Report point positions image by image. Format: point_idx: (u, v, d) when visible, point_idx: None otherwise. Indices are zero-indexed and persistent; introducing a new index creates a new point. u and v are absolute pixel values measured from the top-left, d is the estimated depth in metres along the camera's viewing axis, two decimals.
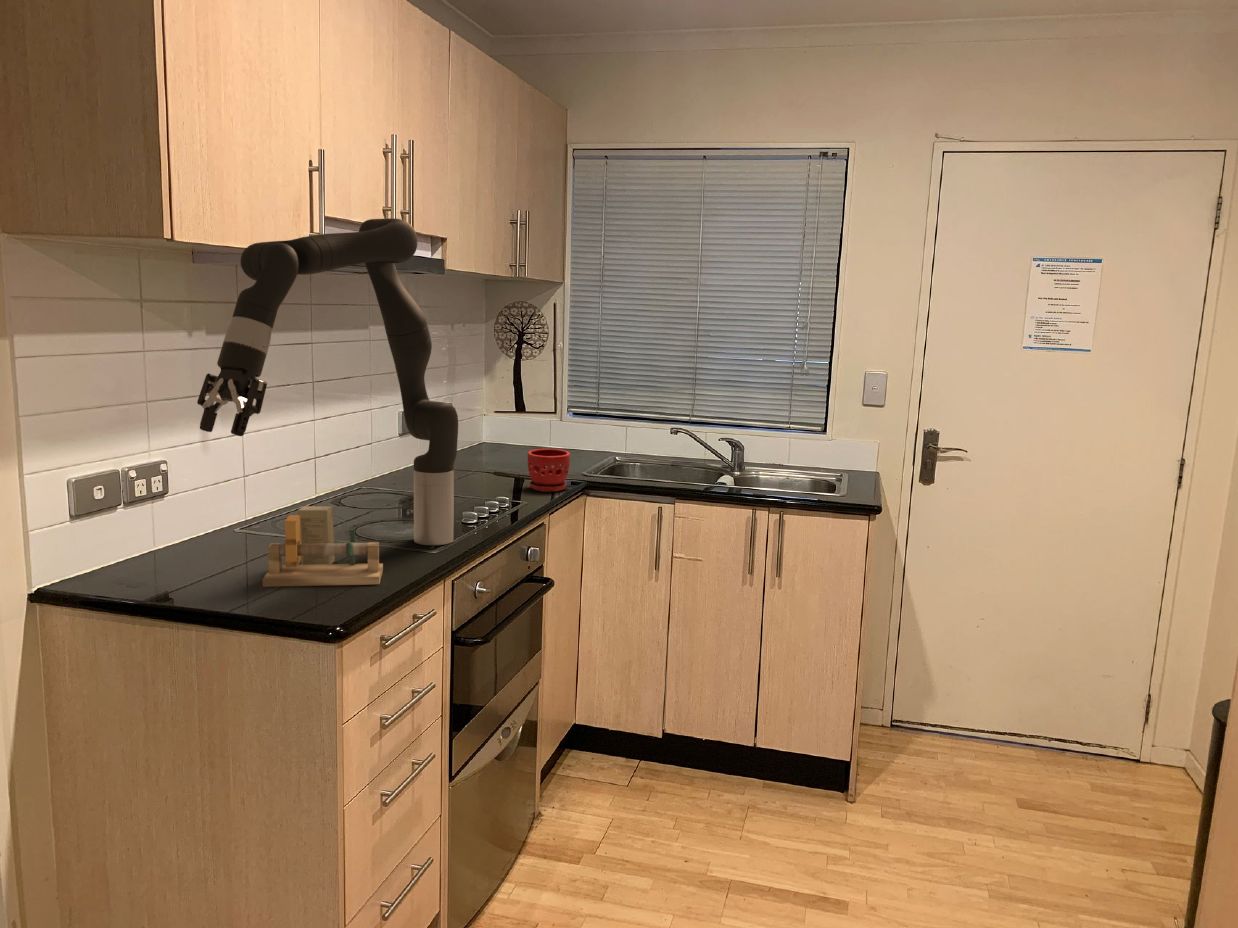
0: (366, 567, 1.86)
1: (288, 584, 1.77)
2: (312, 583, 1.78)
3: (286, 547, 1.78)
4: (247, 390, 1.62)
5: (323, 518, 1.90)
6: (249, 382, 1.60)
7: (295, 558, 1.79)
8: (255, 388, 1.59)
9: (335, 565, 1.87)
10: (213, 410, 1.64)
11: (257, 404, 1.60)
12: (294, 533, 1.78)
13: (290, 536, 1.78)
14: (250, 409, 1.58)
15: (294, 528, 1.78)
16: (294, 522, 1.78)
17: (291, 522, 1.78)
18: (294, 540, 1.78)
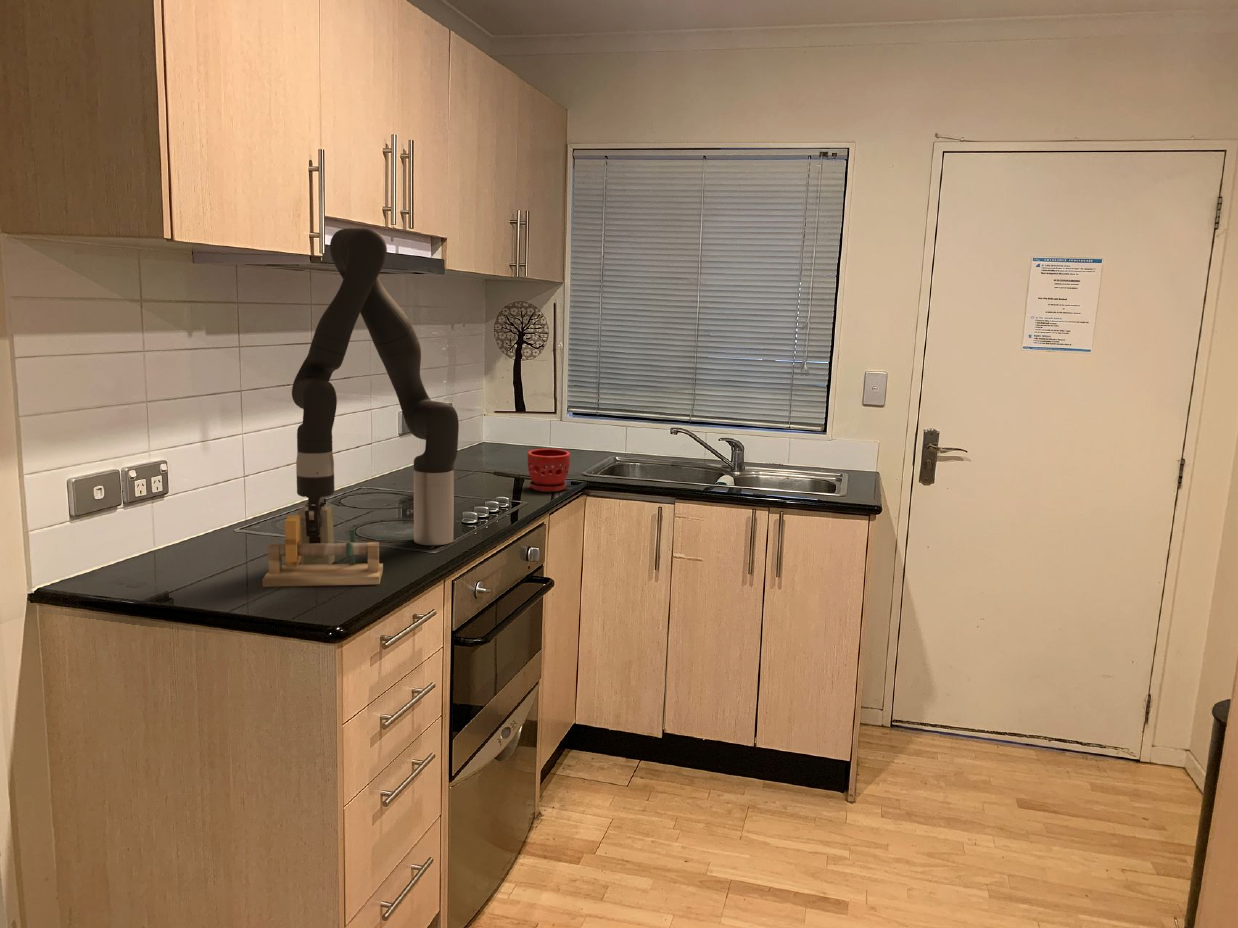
0: (366, 567, 1.86)
1: (288, 584, 1.77)
2: (312, 583, 1.78)
3: (286, 547, 1.78)
4: None
5: (323, 518, 1.90)
6: None
7: (295, 558, 1.79)
8: (307, 520, 1.85)
9: (335, 565, 1.87)
10: None
11: None
12: (294, 533, 1.78)
13: (290, 536, 1.78)
14: (308, 535, 1.87)
15: (294, 528, 1.78)
16: (294, 522, 1.78)
17: (291, 522, 1.78)
18: (294, 540, 1.78)
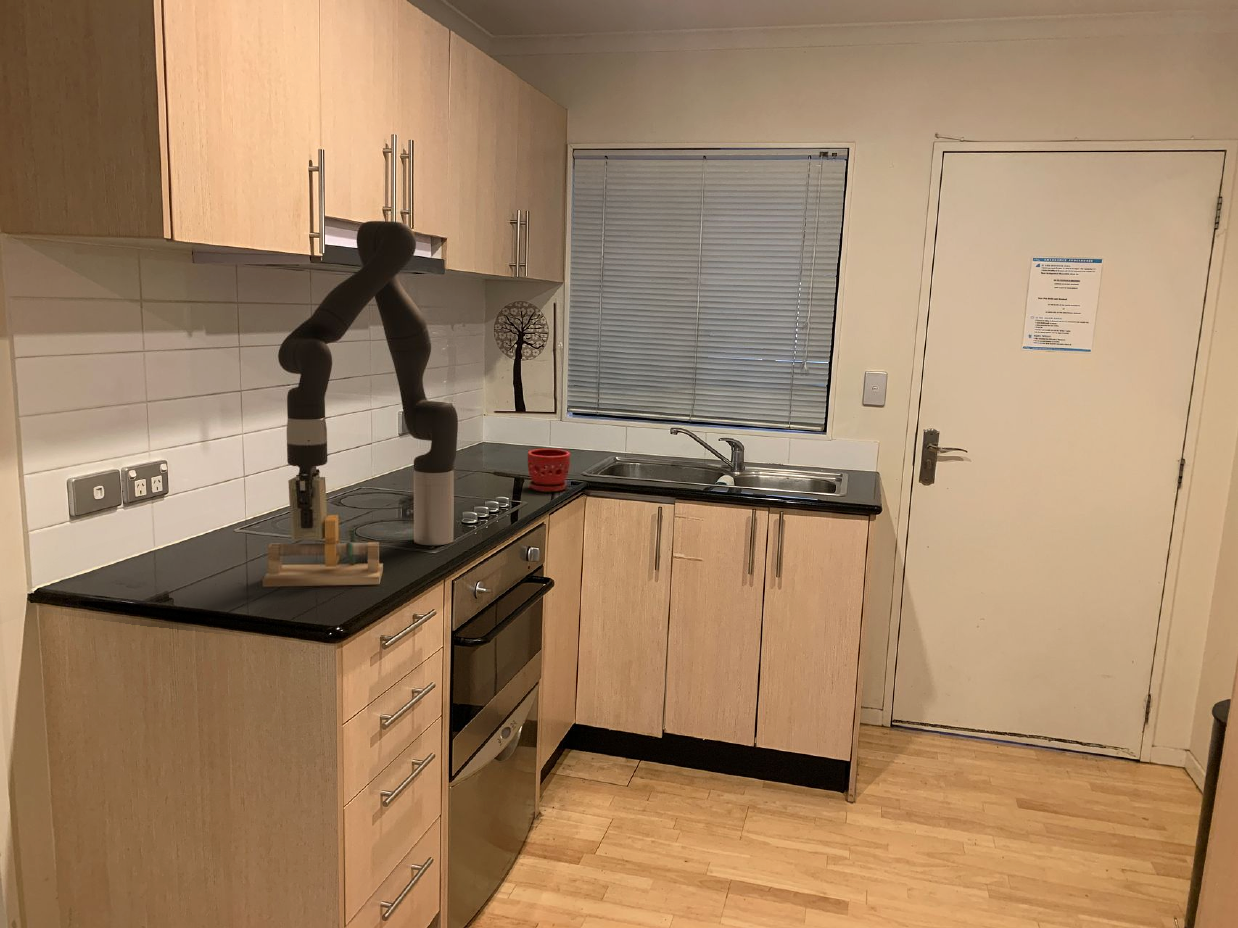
0: (366, 567, 1.86)
1: (288, 584, 1.77)
2: (312, 583, 1.78)
3: (326, 546, 1.80)
4: None
5: (315, 489, 1.78)
6: None
7: (334, 557, 1.80)
8: (297, 490, 1.74)
9: None
10: None
11: (308, 500, 1.75)
12: (333, 533, 1.80)
13: (329, 535, 1.80)
14: (299, 507, 1.75)
15: (334, 528, 1.80)
16: (334, 522, 1.79)
17: (331, 522, 1.79)
18: (333, 540, 1.80)
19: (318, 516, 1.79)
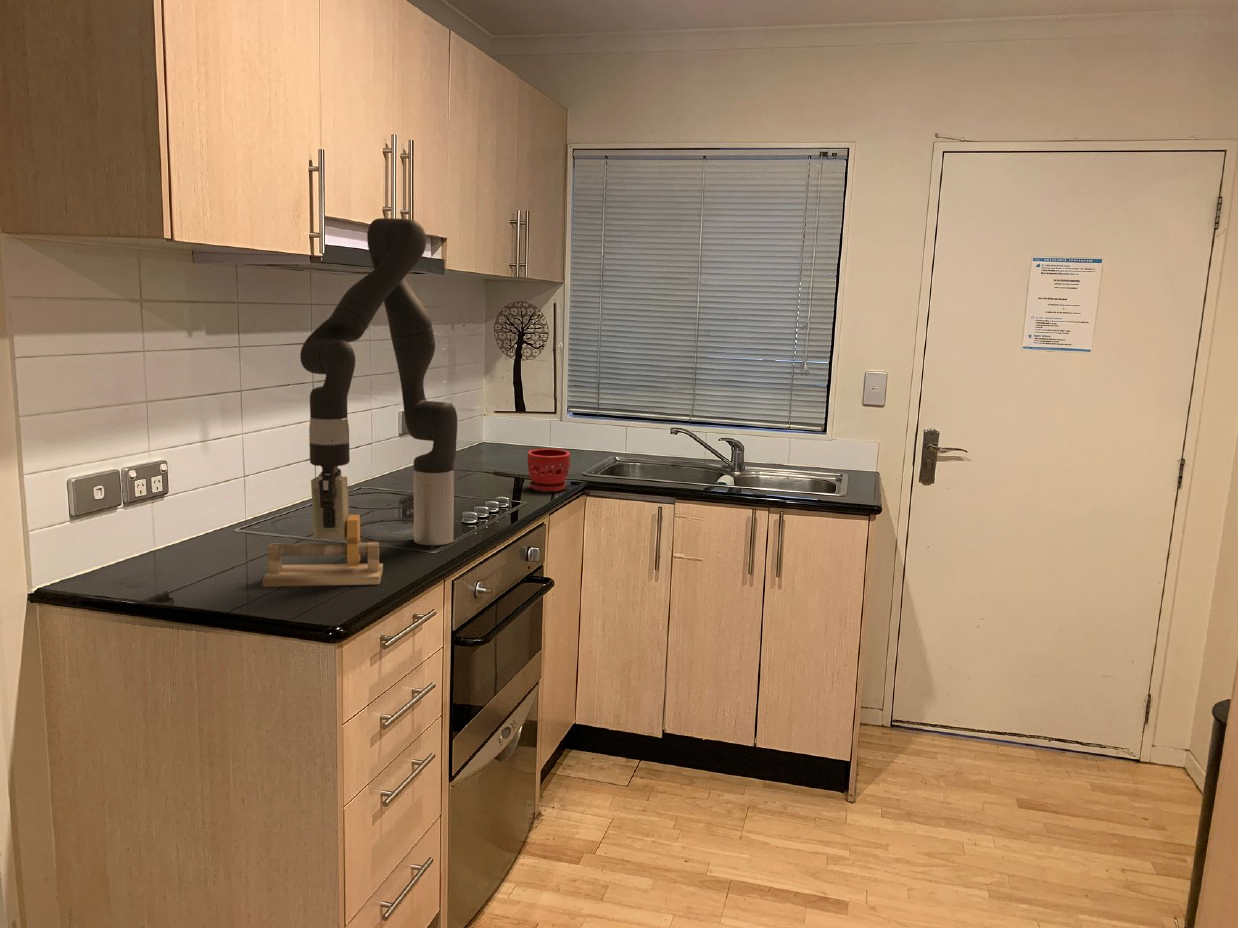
0: (366, 567, 1.86)
1: (288, 584, 1.77)
2: (312, 583, 1.78)
3: (348, 546, 1.80)
4: None
5: (338, 489, 1.79)
6: None
7: (356, 557, 1.81)
8: (320, 490, 1.74)
9: (335, 565, 1.87)
10: None
11: (331, 500, 1.76)
12: (356, 532, 1.80)
13: (351, 535, 1.80)
14: (322, 507, 1.76)
15: (356, 527, 1.80)
16: (356, 522, 1.80)
17: (353, 522, 1.80)
18: (356, 539, 1.80)
19: (341, 516, 1.80)
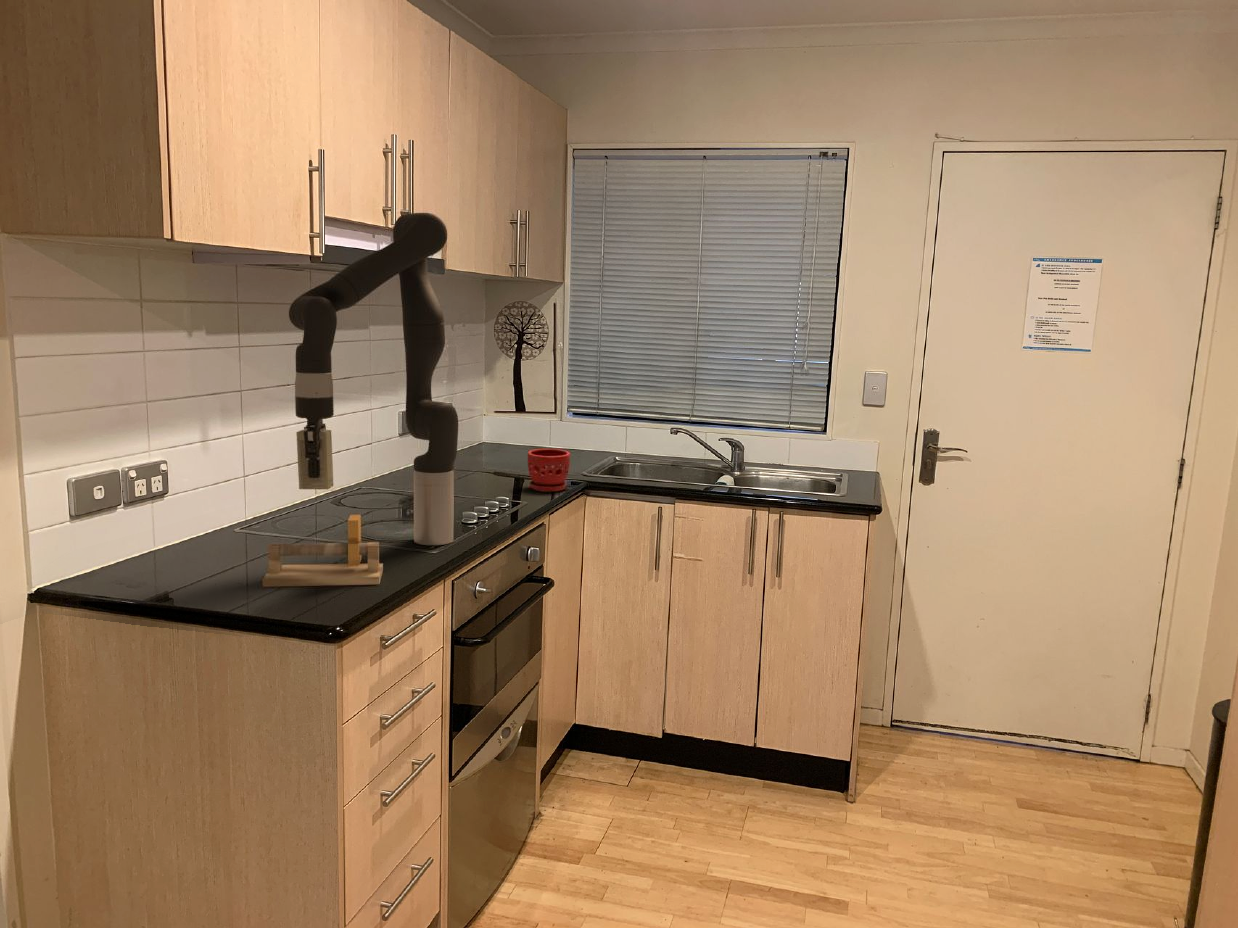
0: (366, 567, 1.86)
1: (288, 584, 1.77)
2: (312, 583, 1.78)
3: (349, 546, 1.80)
4: None
5: (322, 440, 1.87)
6: (309, 430, 1.85)
7: (357, 557, 1.81)
8: (305, 440, 1.83)
9: (335, 565, 1.87)
10: None
11: None
12: (357, 532, 1.81)
13: (352, 535, 1.80)
14: (307, 457, 1.84)
15: (357, 527, 1.80)
16: (357, 522, 1.80)
17: (354, 522, 1.80)
18: (357, 539, 1.80)
19: (325, 467, 1.88)
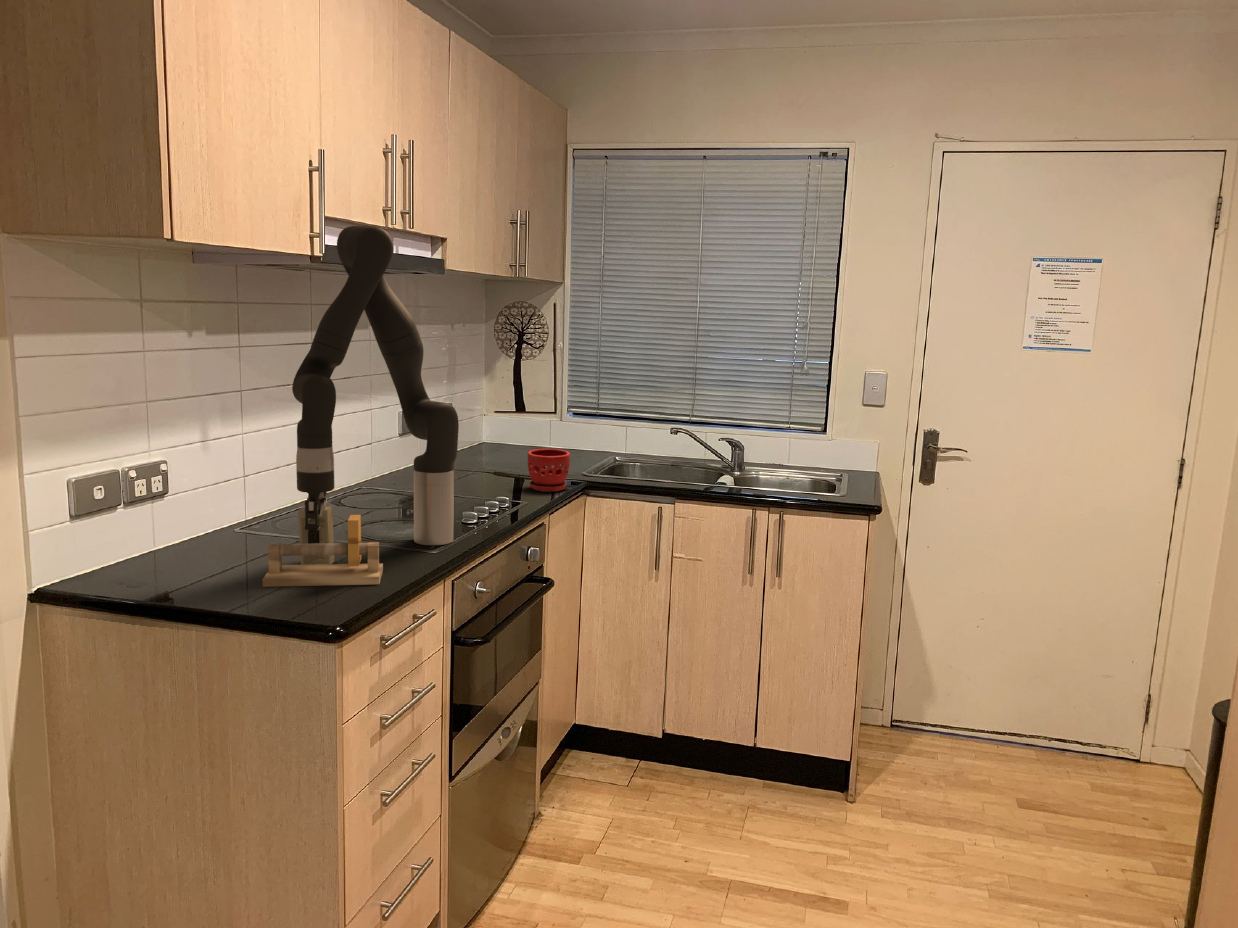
0: (366, 567, 1.86)
1: (288, 584, 1.77)
2: (312, 583, 1.78)
3: (349, 546, 1.80)
4: None
5: (323, 518, 1.90)
6: None
7: (357, 557, 1.81)
8: (306, 510, 1.85)
9: (335, 565, 1.87)
10: None
11: None
12: (357, 532, 1.81)
13: (352, 535, 1.80)
14: (307, 529, 1.85)
15: (357, 527, 1.80)
16: (357, 522, 1.80)
17: (354, 522, 1.80)
18: (357, 539, 1.80)
19: None
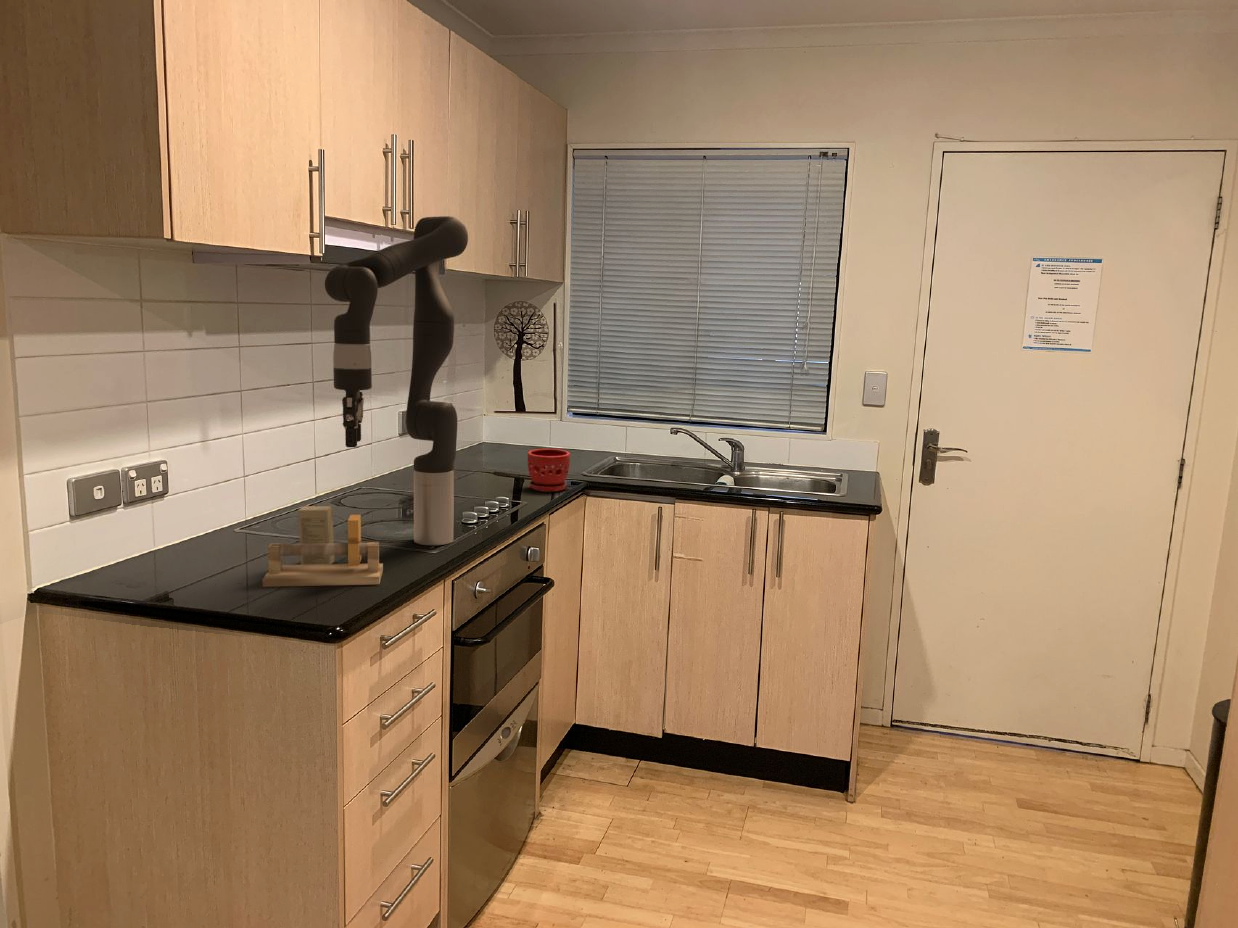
0: (366, 567, 1.86)
1: (288, 584, 1.77)
2: (312, 583, 1.78)
3: (349, 546, 1.80)
4: None
5: (323, 518, 1.90)
6: None
7: (357, 557, 1.81)
8: (344, 406, 1.81)
9: (335, 565, 1.87)
10: None
11: None
12: (357, 532, 1.81)
13: (352, 535, 1.80)
14: (345, 425, 1.81)
15: (357, 527, 1.80)
16: (357, 522, 1.80)
17: (354, 522, 1.80)
18: (357, 539, 1.80)
19: None
